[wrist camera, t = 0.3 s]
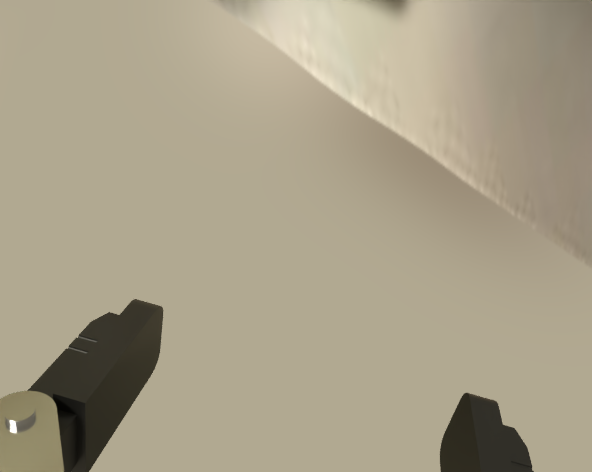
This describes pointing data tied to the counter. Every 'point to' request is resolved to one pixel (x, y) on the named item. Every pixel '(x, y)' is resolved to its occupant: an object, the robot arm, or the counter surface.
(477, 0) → the counter surface
